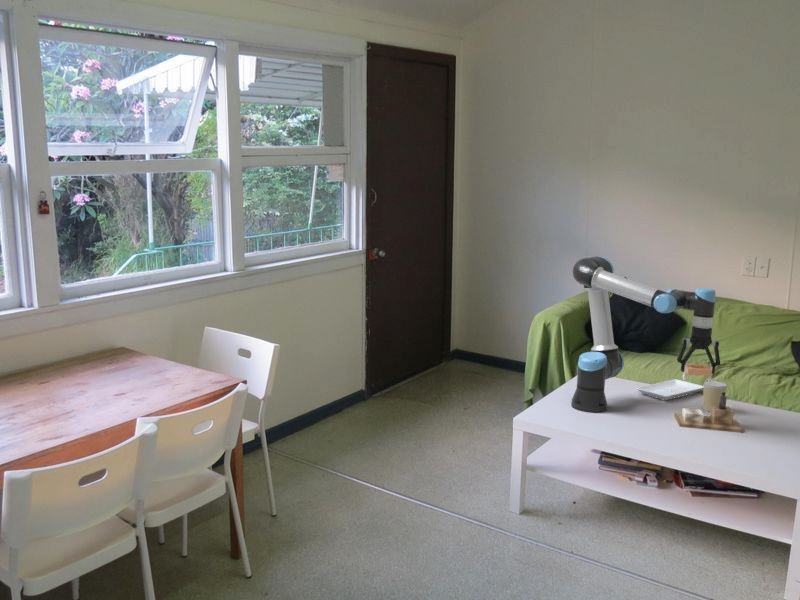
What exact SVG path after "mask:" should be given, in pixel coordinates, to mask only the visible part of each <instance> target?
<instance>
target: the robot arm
mask: <svg viewBox="0 0 800 600" xmlns="http://www.w3.org/2000/svg"><path fill="white" fill-rule="evenodd" d="M572 276H573V278H574V280H575V281H576V282H577V283H578V284H580V285H581V286H582V285H583V289H584V290H585V291H587V292H588V293H587V294H588V303H589V310H590V311H589V312H590V321H591V329H592V330H591V331H592V338H593V346H592V347H591V348H590V351H587V352H583V353H582V354H580V355H579V358H578V363H577V376H576V377H577V378H576V389H575V390H574V393H573V396H572V398H571V403H570V405H571V407H572V408H573V409H575V410H578V411H581V412H589V413H601V412H605V411H607V409H608V401H607V397H606V393H605V385H606V380H608V379H612V378H615V377H616V376H618V375H619V374H620V373H621V372H622V370H623V369H624V366H625V360H624V357H623V356H622V354H621V353H620V352H619V346H618V345H616V344H615V340H614V332H613V322H612V314H611V306H610V296H609V293H612V294H615V295H617V296H621V297H623V298H626V299H629V300H632V301H635V302H637V303H640V304H642V305H645V306H648V307H651V308H654V310H656V311H657V312H658V313H661V314H670V313H672V312H674V311H678V310H686V311H693V316H692V317H693V318H692V325H693V326H691V335H690V338H684V337H683V338H682V341H681V342H682V344H681V348H680V349H679V353H678V355H677V359H676V361H677V362H678V363H679V364H681V366H680V371H681V372H682V381H686V380H687V379H686V378H687V373H686V371H687V364H688V363H687V362H688V360H689V359H690V357H691V356H692V354H693V353H694V352H695V351H696V350H703V351H705V353H706V355H707V357H708V360H709V362H710V364H709V365H708V366H709V368H710V369H711V370H712V375H715V372H716V367H717V366H718V367H719V366H721V357H720V353H719V352H720V351H719V350H720V349H719V345H720V341H718V340H712V335H713V334H712V333H713V328H712V327H713V325H714V324H713V323H714V314H715V312H714V311H715V304H716V295H717V294H716V293H717V292H716V290H715V289H712V288H710V287H709V288H707V287H698V288H695V291H687V290H680V289H677V288H675V289H673V288H672V289H671V288H670V289H667V290H666V291H663V290H661V289H658V288H656V287H652V286H650V285H646V284H644V283H642V282H641V283H640V282H638V281H636V280H632V279H629V278H627V277H624V276H621V275H617V274H616V273H614V266H613V264H612V262H611V260H609V259H608V258H606V257H603V256H596V255H595V256H592V257H591V256H590V257H583V258H581V259H579V260H577V261H576V262H575V263H574V265H573V267H572ZM689 342H690V344H691V345H690V347H689V349H688V351H687V352H686V353H685V351H686V348H687V346H688V345H689ZM710 345H712V346H713V351H714V358H715V360H714V358H713V355H712V353H711V351H710V348H709V347H710ZM684 354H685V355H684ZM686 363H687V364H686ZM712 375H711V376H707V381H708V382H710V383H711V381H712Z"/></svg>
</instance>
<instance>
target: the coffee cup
mask: <svg viewBox="0 0 800 600" xmlns="http://www.w3.org/2000/svg"><path fill="white" fill-rule="evenodd" d="M702 386H704V389H702V390H703V391H702V393H703V394H702V410H703V409H704V410H703V411H705V410H706V412H708V411H709V413H711V405H718V406H719V404H720V396H726V392H727V384H726V383H724V382H722V381H716V380H711V383H710V382H708V380H705V381H704V382H703V385H702Z"/></svg>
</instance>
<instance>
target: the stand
mask: <svg viewBox="0 0 800 600" xmlns="http://www.w3.org/2000/svg"><path fill="white" fill-rule="evenodd" d="M727 398H728V396H726V395H725V396H720V404H719V406H718V405H711V412H709V413H710V414H709V415H710V416H709V415H704V412H703V411H702V410H701V409H696V408H684V407H682V410H681V411H682V412H681V413H680V412H679V413H678V412H675V413H674V414H673V415H674V416H673V417H674V418H675V421H676V422H677V423H676V424H678V426H679V427H682V428H692V429H693V428H694V429H703V430H712V431H713V430H715V431H724V432H732V433H733V432H735V433H744V429H743V427H742V426H741V425H740V423H738V421H737V420H736V418H734V410H733V409H732V408H731V406H729V405H728V406H727Z"/></svg>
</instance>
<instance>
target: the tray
mask: <svg viewBox="0 0 800 600" xmlns="http://www.w3.org/2000/svg"><path fill="white" fill-rule="evenodd" d="M662 388H663V389H662ZM664 389H665V390H664ZM666 389H667V390H666ZM703 389H704V385H701V384H697V383H694V382H689V381H686V380H681V379H677V378H676V379H675V378H674V379H673V378H672V379H669V380H665V381H661V382H657V383H652V384H648V385H642V386H638V387H636V390H637V391H638V392H640V393H642V394H644V395H645V394H647V395H646V396H648V395H650V396H649V397H651V396H653V397H652V398H654V397H657V398H656V399H658V398H660V399H659V400H661V399H664V400H663V401H667V400H666V399H669V400H671V399H670V398H673V399H675V398H674V397H677V398H679V397H678V396H681V397H683V396H682V395H685V396H687V395H686V394H689V395H691V394H690V393H693V394H696V393H697V392H700V391H702V390H703ZM671 390H672V391H674V390H677V391H674V392H670V391H671ZM678 391H679V392H678Z"/></svg>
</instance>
